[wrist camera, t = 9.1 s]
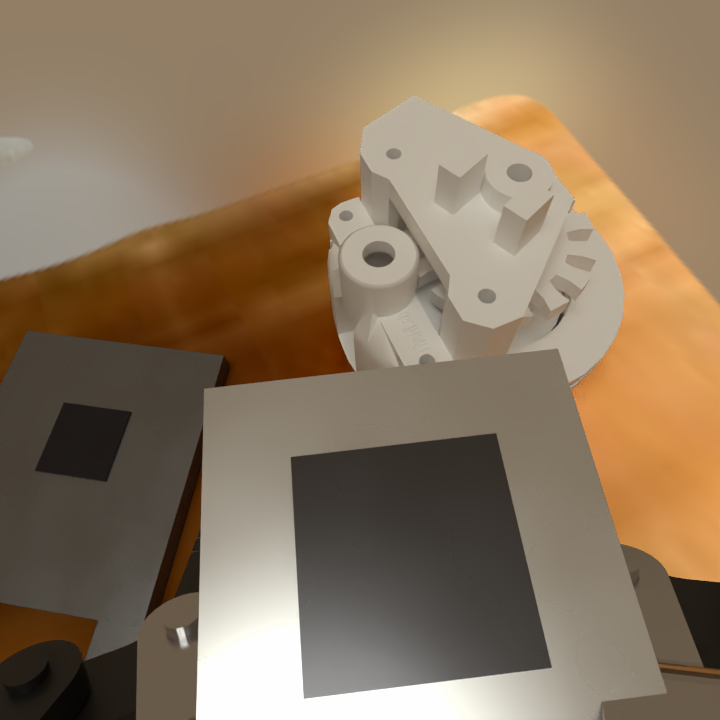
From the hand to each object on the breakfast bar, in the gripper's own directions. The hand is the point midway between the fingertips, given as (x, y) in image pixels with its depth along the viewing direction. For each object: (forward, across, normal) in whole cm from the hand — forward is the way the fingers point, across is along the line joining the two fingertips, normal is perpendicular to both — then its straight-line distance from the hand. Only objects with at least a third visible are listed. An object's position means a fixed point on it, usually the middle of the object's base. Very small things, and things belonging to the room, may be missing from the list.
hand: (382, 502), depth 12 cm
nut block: (+2, 0, +4) cm, 5 cm away
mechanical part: (+16, -5, +1) cm, 17 cm away
